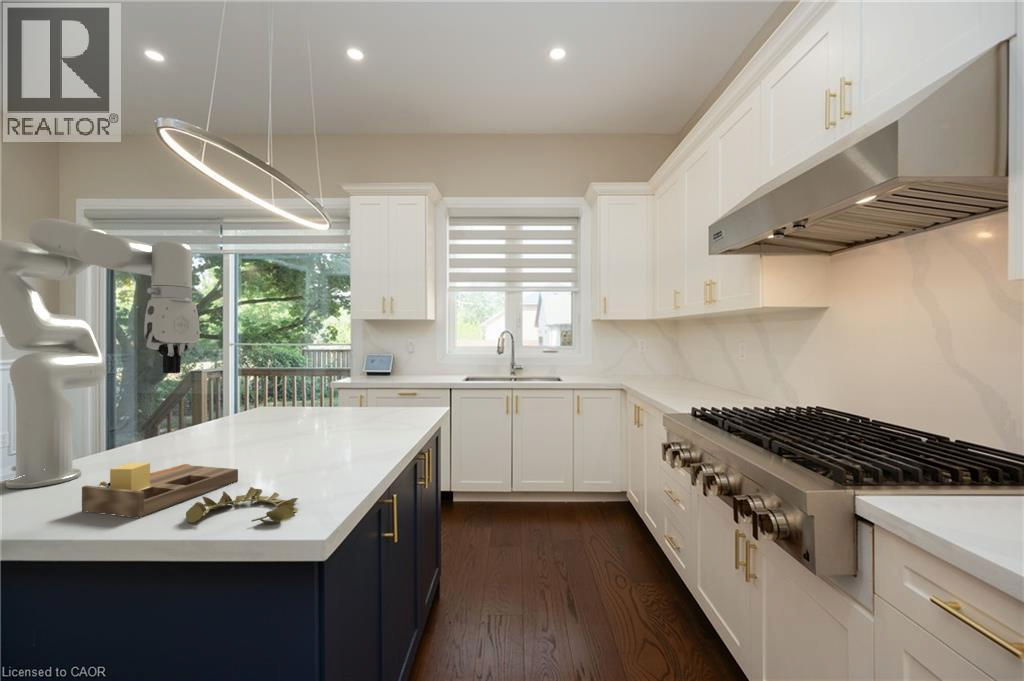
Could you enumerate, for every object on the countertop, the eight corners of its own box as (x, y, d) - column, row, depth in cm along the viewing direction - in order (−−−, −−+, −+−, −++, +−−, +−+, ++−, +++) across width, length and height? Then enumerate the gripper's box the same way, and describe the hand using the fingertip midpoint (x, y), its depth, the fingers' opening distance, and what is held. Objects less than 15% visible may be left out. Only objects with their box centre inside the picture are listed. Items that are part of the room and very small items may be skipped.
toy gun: (168, 463, 118) (192, 464, 114) (168, 471, 118) (193, 472, 114) (98, 480, 104) (123, 482, 100) (98, 489, 103) (124, 491, 100)
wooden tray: (81, 511, 87) (81, 486, 87) (188, 477, 110) (188, 457, 110) (139, 518, 84) (139, 492, 84) (237, 481, 106) (238, 461, 106)
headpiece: (283, 535, 80) (320, 507, 95) (285, 513, 81) (322, 488, 96) (171, 525, 81) (226, 499, 96) (173, 503, 81) (228, 480, 96)
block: (110, 493, 90) (110, 469, 90) (129, 485, 94) (129, 462, 94) (131, 493, 89) (131, 469, 89) (150, 486, 94) (150, 463, 94)
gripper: (151, 291, 94) (151, 375, 94) (213, 298, 108) (213, 371, 108) (124, 292, 95) (124, 375, 95) (189, 298, 110) (189, 370, 110)
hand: (171, 372), depth 102 cm, fingers closed
